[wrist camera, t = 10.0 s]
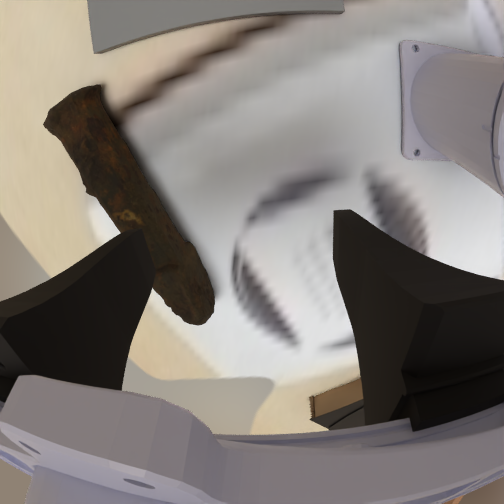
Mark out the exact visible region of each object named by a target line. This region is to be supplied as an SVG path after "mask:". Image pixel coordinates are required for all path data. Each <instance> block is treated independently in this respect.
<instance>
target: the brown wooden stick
mask: <svg viewBox="0 0 504 504" xmlns="http://www.w3.org/2000/svg"><path fill="white" fill-rule="evenodd" d="M101 89H102V87H101V85H94V86H87V87H84V88H81V89H79V90H77V91H74V92H72V93H71V94H69V95H68V96H67V97H65V98H64V99H63V100H62V101H60V102H59V103H58V104H57V105H55V106H54V107H53V108H51V109H50V110H49V112H48V115H47V118H46V120H45V122H44V124H43V125H44V127H45V128H47V129H48V131H49V132H50V133H51V134H53V135H55V136H56V137H57V138H58V139H59V140H60V141H61V142H62V144H63V146H64V147H65V149H66V151H67V153H68V154H69V156H70V158H71V159H72V160H73V162H74V163H75V165H76V167H77V168H78V170H79V172H80V175H81V178H82V181H83V184H84V185H85V187H86V193H88V194H89V195H91V196H94V197H96V198H97V199H98V201H99V203H100V204H101V206H102V207H103V208H104V210H105V211H106V213H107V214H108V215H109V217H110V218H111V220H112V221H113V222H114V224H115V226H116V227H117V228H118V230H119V231H120V232H121V233H123V232H125V231H127V230H130V229H139V228H142V230H143V233H144V237H145V240H146V243H147V246H148V249H149V252H150V254H151V257H152V260H153V263H154V266H155V269H156V274H155V278H154V283H153V289H154V290H155V291H156V292H157V293H158V294H159V295H160V296H161V297H162V298H163V300H164V302H165V304H166V305H167V306H168V307H171V309H172V312H174V313H175V314H176V315H178V316H180V317H181V318H182V319H183V321H184V322H187V323H189V324H193V325H202V324H204V323H206V322H207V320H208V319H209V318H210V317H211V315H212V314H213V313H214V305H215V299H214V298H215V297H214V293H213V289H212V286H211V284H210V281H209V278H208V276H207V273H206V270H205V269H204V268H203V266H202V263H201V261H200V258H199V256H198V254H197V252H196V249H195V248H194V246H193V245H192V244H191V243H190V242H185V241H184V240H183V238H182V237H181V235H180V234H179V233H178V231H177V230H176V228H175V226H174V225H173V223H172V221H171V219H170V218H169V216H168V215H167V213H166V211H165V210H164V208H163V206H162V204H161V202H160V200H159V198H158V196H157V195H156V193H155V192H154V190H153V189H152V188H151V187H150V185H149V184H148V182H147V181H146V179H145V177H144V175H143V174H142V172H141V171H140V169H139V167H138V165H137V163H136V161H135V159H134V157H133V156H132V154H131V152H130V150H129V148H128V146H127V144H126V142H125V141H124V140H123V139H122V138H121V136H120V135H119V133H118V131H117V130H116V128H115V126H114V125H113V123H112V122H111V120H110V118H109V117H108V115H107V113H106V112H105V110H104V108H103V106H102V104H101V100H100V92H101Z"/></svg>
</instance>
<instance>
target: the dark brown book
mask: <svg viewBox="0 0 504 504" xmlns="http://www.w3.org/2000/svg"><path fill="white" fill-rule="evenodd" d="M503 354H504V353H503ZM309 400H310V403H311V404H309V405H311V406H310V408H311V410H310V411H311V413H312V414H311V415H312V416H311V417H312V418H311V419H310V420H311V421H313V422H315V423H317V424H319V425H321V426H324V427H326V428H328V429H329V431H331V430H339V429H347V428H355V427H361V426H365V415H364V402H363V392H362V383H361V378H360V379H358V380H356V381H353V382H351V383H348V384H346V385H343V386H340V387H337V388H334V389H331V390H329V391H326V392H324V393H322V394H319V395H317V396H315V397H313V396H311V397H310V399H309Z"/></svg>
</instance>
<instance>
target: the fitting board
mask: <svg viewBox="0 0 504 504" xmlns="http://www.w3.org/2000/svg"><path fill="white" fill-rule="evenodd" d="M87 2H88V12H89V21H90V29H91V37H92V44H93V51H94V54H101V53H104V52H107V51H109V50H112V49H115V48H118V47H121V46H124V45H127V44H130V43H133V42H136V41H139V40H142V39H146V38H149V37H153V36H156V35H160V34H164V33H168V32H172V31H176V30H180V29H184V28H189V27H193V26H198V25H203V24H209V23H214V22H220V21H226V20H233V19H240V18H248V17H257V16H268V15H282V14H306V13H331V14H341V13H343V12H344V11H345V9H344V2H343V0H87Z"/></svg>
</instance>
